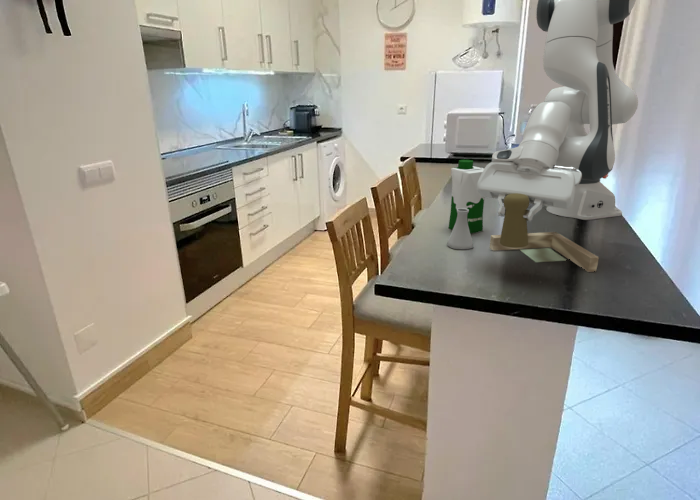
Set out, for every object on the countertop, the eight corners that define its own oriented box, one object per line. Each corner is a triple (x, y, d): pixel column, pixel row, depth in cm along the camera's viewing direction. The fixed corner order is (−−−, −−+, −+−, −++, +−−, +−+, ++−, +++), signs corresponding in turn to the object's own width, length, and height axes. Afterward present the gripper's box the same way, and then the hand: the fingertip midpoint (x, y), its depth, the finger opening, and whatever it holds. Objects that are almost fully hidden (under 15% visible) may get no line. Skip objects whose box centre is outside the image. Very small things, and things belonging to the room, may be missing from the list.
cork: (530, 247, 95) (534, 197, 92) (501, 247, 97) (503, 198, 93) (525, 238, 101) (529, 190, 97) (497, 238, 102) (500, 191, 98)
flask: (443, 241, 123) (445, 206, 119) (468, 240, 124) (471, 205, 120) (450, 250, 116) (453, 214, 113) (477, 249, 117) (481, 213, 113)
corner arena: (553, 244, 120) (555, 231, 119) (596, 271, 103) (598, 257, 102) (489, 247, 118) (490, 235, 117) (521, 276, 101) (524, 262, 100)
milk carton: (466, 223, 137) (472, 158, 130) (487, 231, 130) (494, 162, 122) (443, 228, 134) (448, 160, 126) (464, 236, 126) (470, 166, 119)
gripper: (585, 176, 96) (566, 232, 93) (492, 167, 108) (472, 216, 104) (584, 159, 91) (564, 218, 88) (486, 151, 103) (466, 203, 99)
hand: (514, 217), depth 96 cm, fingers closed on cork, 4 cm apart
